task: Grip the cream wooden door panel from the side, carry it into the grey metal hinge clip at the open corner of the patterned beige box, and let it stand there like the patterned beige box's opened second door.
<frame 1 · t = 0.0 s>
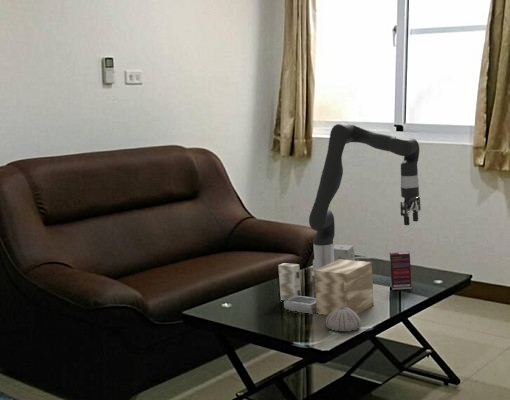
hand: (411, 223, 340), 29 cm above the table, fingers open, 8 cm apart
sea urchin shell: (343, 329, 300), on the table
hinge clip: (304, 309, 327), on the table
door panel: (291, 301, 341), on the table
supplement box: (401, 288, 349), on the table
patterned beige box: (345, 309, 323), on the table
incense holder: (343, 266, 395), on the table
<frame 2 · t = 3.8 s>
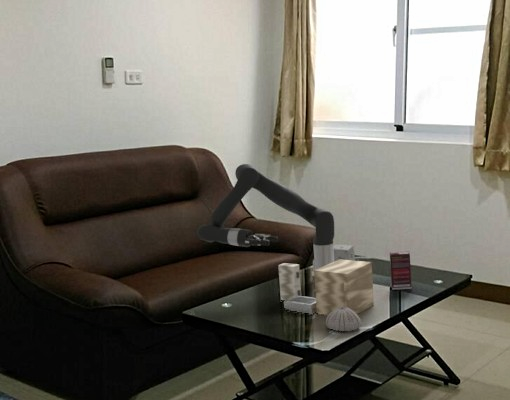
hand: (273, 241, 341), 26 cm above the table, fingers open, 8 cm apart
nothing on the table moved.
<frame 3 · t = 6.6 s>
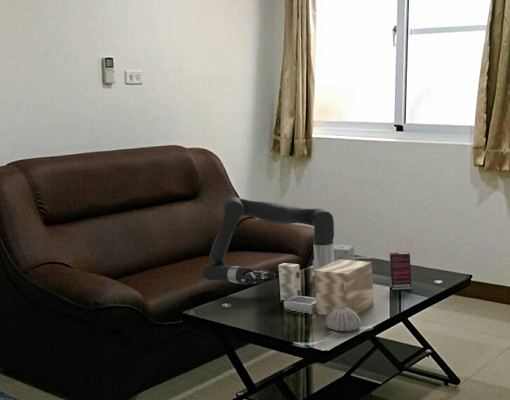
hand: (269, 278, 346), 9 cm above the table, fingers open, 8 cm apart
nothing on the table moved.
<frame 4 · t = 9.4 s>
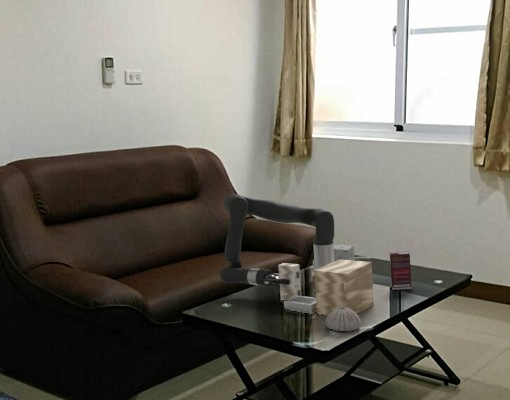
hand: (292, 280, 339), 9 cm above the table, fingers closed on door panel, 4 cm apart
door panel: (291, 301, 341), on the table, touching gripper
everything else where it was.
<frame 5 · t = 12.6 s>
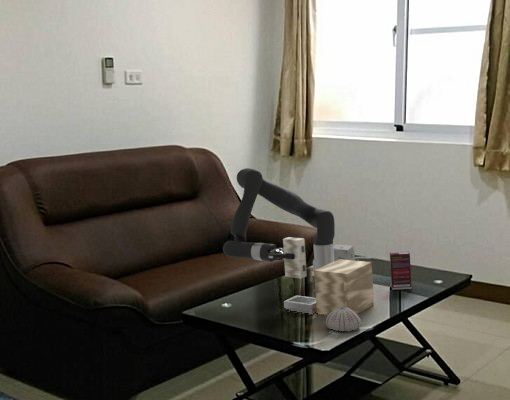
hand: (297, 255, 328), 22 cm above the table, fingers closed on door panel, 4 cm apart
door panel: (295, 276, 330), point 13 cm above the table, touching gripper
everything else where it was.
when the fingers open (11 cm above the table, at t = 16.1 s): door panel drops 1 cm, resting on hinge clip.
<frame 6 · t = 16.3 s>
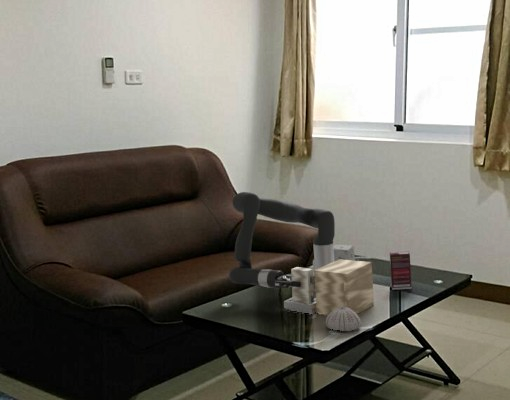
hand: (304, 282, 325), 11 cm above the table, fingers open, 6 cm apart
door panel: (303, 306, 327), point 1 cm above the table, touching hinge clip
everything else where it was.
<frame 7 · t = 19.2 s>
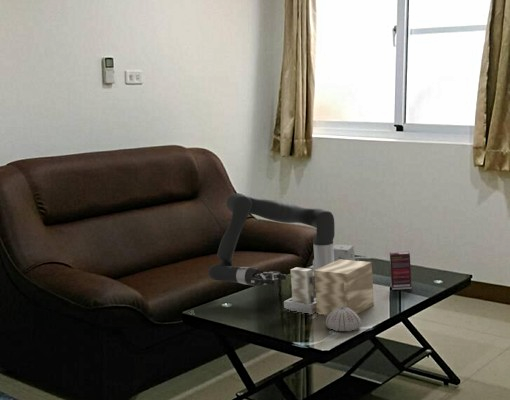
hand: (280, 279, 332), 12 cm above the table, fingers open, 8 cm apart
nothing on the table moved.
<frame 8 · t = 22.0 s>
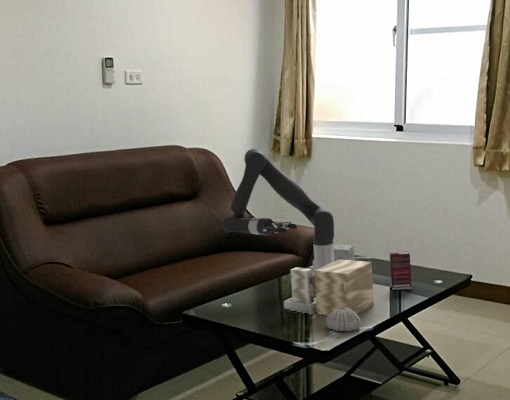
hand: (291, 228, 344), 30 cm above the table, fingers open, 8 cm apart
nothing on the table moved.
at the end: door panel 0.2 cm off-centre on the hinge clip, point 1.0 cm above the hinge clip's base; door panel tilted 0°; the gripper is holding nothing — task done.
